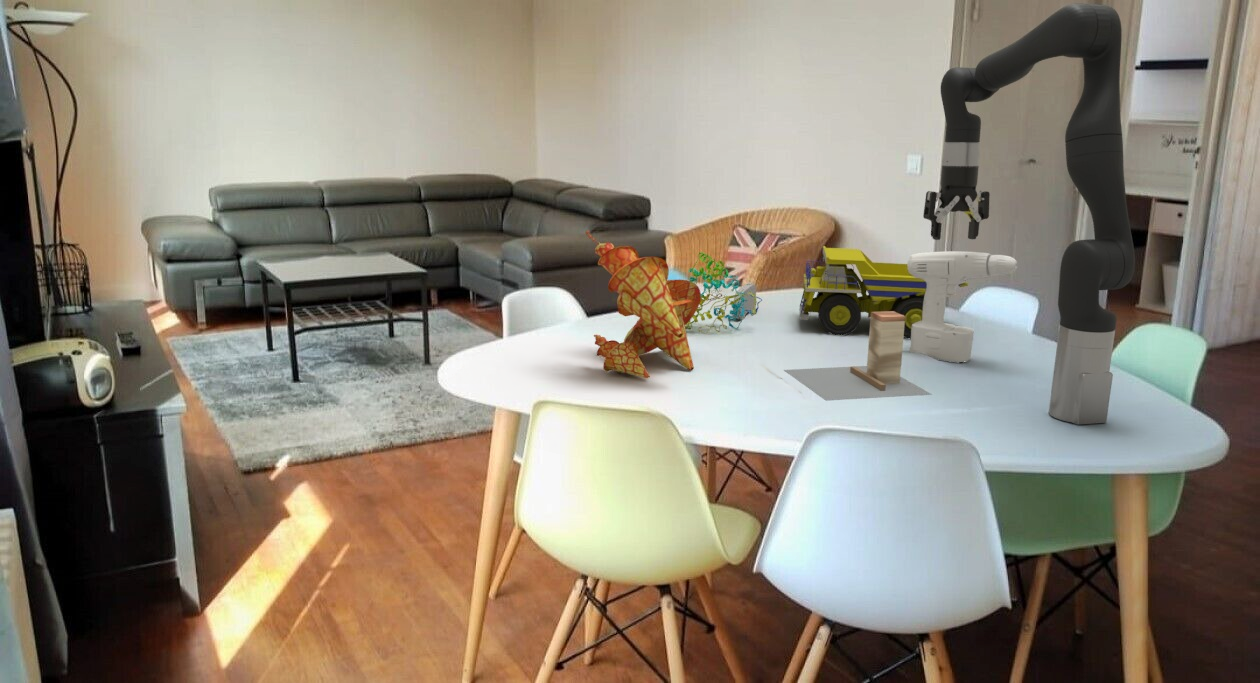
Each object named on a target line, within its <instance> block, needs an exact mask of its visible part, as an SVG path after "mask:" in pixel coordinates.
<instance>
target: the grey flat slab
mask: <svg viewBox="0 0 1260 683" xmlns="http://www.w3.org/2000/svg"><path fill="white" fill-rule="evenodd" d="M736 290H737V293H739V294H740V293H743V294H746V293H749V294H751V293H752V294H754V295H755V296H756V298H755V299H754V297H752V296H751V295H749V294H748V295H745V296H744V297H743V298H744V300H745V299H747V301H744V310H749V311H751V312H752V310H753V308H754V307H755V300H756V301H757V287H756V284H755V283H753V282H746V284H744V285H743V286H741V287H740V288H739V289H736ZM737 293H736V292H735V294H734V295H738V294H737ZM739 297H741V296H737V297H734V298H733V301H734V300H736V299H738V298H739ZM738 301H739V300H738ZM738 301H737V302H736V303H735V304H736V305H737V304H738ZM741 301H742V300H741V299H740V301H739V303H740V302H741ZM733 307H734V306H733ZM740 307H742V308H743V301H742V304H741V306H740ZM742 308H739V310H738V313H737V319H736V320H735V321H741V320H742V321H743V320H744V319H745V316H746V314H748V313H749V312H748V311H744V315H743V317H741V316H740V315H741V312H742ZM732 310H734V311H735V308H732ZM753 311H754V310H753ZM734 315H735V314H734ZM734 315H732V316H734ZM735 318H736V315H735V316H734V317H733V319H735Z"/></svg>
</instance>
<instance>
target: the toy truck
mask: <svg viewBox="0 0 1260 683" xmlns="http://www.w3.org/2000/svg"><path fill="white" fill-rule="evenodd" d="M822 255H823V256H821V260H819V261H815V260H807V261H806V263H805V264H806V265H805V273H803V284H802V285H803V286H802V289H803V292H802V296H801V300H800V304H799V320H800V321H801V320H807V321H809V316H810V313H818V320H819V323H820V326H821V327H822V328H823V329H824V330H825V331H826V333H829V334H831V335H834V336H846V335H849V334H851V333H852V332H853V331H855V330H856V329H857V328H858V326H859V324H860V322H861V319H862V313H866V314H867V317H868V318H871V312H884V311H894V312H896V313H899V314H901V315H903V316H905V325H904V337H903V338H906V339H908V338H911V327H912V324H914V323H916V322H918V321H922V313H923V305H924V304H923V301H924V296H925V292H926V288H927V283H926V281H925V280H922V279H918V278H915V277H913V276H912V275H910V273H909V272H908V269H907V268H908V267H907V265H908V263H896V262H895V263H891V262H890V263H889V262H873V261H872V260H871V259H870V258H869V257H868V256H867V255H866V254H865V253H864V252H863V251H862V250H861V249H859V248H842V247H841V248H838V247H837V248H836V247H827V246H825V245H823V246H822ZM811 262H812V266H814V263H820V265H819V266H816V267H811V266H810V263H811ZM823 263H825V266H822V265H823ZM847 265H851V266H852V268H849V267H848V266H847ZM854 265H855V266H854ZM855 267H856V269H857V271H858V273H859V276H860V277H859V276H858V275H857V273H856V272H855ZM860 278H861V279H860ZM958 286H959V288H965V287H968V286H969V283H968V282H967V281H966V282H964V283H962V284H959V285H958ZM815 293H817V294H816V296H815ZM858 294H861V296H858ZM814 296H815V297H814Z"/></svg>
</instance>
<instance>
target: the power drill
mask: <svg viewBox="0 0 1260 683" xmlns="http://www.w3.org/2000/svg"><path fill="white" fill-rule="evenodd" d="M907 264H908V265H907V267H908V268H907V269H908V272H909V273H910V275H912V276H913V277H915V278H918V279H922V280H925V281H926V283H927V288H926V292H925V296H924V301H923V304H924V305H923V313H922V321H918V322H916V323H914V324H912V327H911V339H910V348H909V349H910V350H909V353H910V354H914V353H917V354H922V355H923V354H924V355H927V356H928V357H931V358H932V359H935V360H936V359H939V360H938V361H941V360H945V361H944V362H947V361H951V362H950V363H953V362H963V363H965V362H964V361H967V362H969V361H970V360H971V357H972V348H973V341H974V336H975V334H974V333H975V329H973V328H971V327H966V326H958V325H955V324H953V323H948V322H947V323H946V322H944V320H945V312H946V298H948V297H952V296H955V295H957V287H958V286H959V284H962V283H964V282H967V281H968V280H975V279H985V278H990V277H994V276H995V277H997V276H1007V275H1008V276H1009V275H1010V274H1013V273H1015V272H1016V270H1018V261H1017V259H1015V258H1014V257H1013V256H1009V255H1004V254H991V253H988V252H978V251H960V250H959V251H957V250H956V251H955V250H952V251H950V250H949V251H948V250H947V251H931V252H930V251H928V252H919V253H918V252H917V253H913V254H911V255H910V256H909V258H908V261H907ZM966 280H967V281H966ZM969 359H970V360H969ZM968 360H969V361H968Z"/></svg>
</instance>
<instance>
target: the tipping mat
mask: <svg viewBox="0 0 1260 683" xmlns="http://www.w3.org/2000/svg"><path fill="white" fill-rule="evenodd" d="M783 371H784V372H785V373H786V374H788V375H790V376H791V377H792V378H794V379H795V380H796V381H798V382H799V383H801V384H802V385H803V386H805V387H806V388H808V389H809V390H811V391H812V392H813V393H815V394H816V395H817V396H819V397H820V398H822V399H823V400H825V401H840V400H841V401H842V400H857V399H858V400H860V399H861V400H862V399H876V398H877V399H878V398H893V397H911V396H927V395H928V396H929V395H932V393H931V392H929V391H927V390H925V389H923V388H921V386H918V385H917V384H915V383H914V382H911V381H909V380H907V379H906V378H904V377H902V376H900V383H887V384H884V383H882V382H880V381H879V380H877V379H875V378H874V377H872V376H870V375H869V374H867V365H857V366H837V367H834V366H833V367H815V368H814V367H813V368H795V369H783Z"/></svg>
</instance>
